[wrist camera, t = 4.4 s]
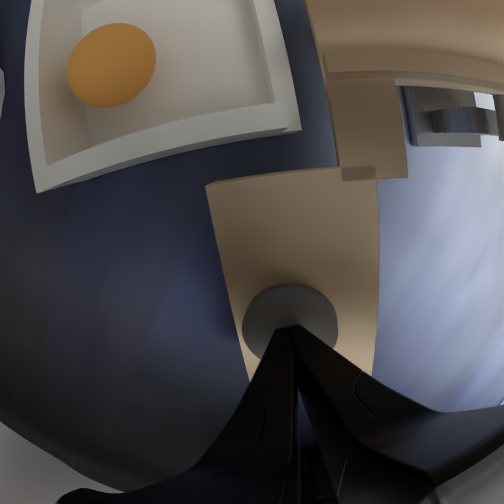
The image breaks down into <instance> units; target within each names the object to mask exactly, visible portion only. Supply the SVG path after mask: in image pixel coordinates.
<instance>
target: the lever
mask: <svg viewBox="0 0 504 504" xmlns="http://www.w3.org/2000/svg"><path fill="white" fill-rule="evenodd" d="M303 2H304V5H305V9H306V12H307V15H308V19H309V22H310V26H311V30H312V34H313V37H314V41H315V45H316V49H317V53H318V58H319V62H320V66H321V71H322V75H323V80H324V85H325V89H326V94H327V100H328V105H329V111H330V116H331V122H332V128H333V135H334V141H335V148H336V156H337V163H338V165H337V166H326V167H316V168H306V169H298V170H289V171H281V172H273V173H266V174H259V175H252V176H245V177H239V178H233V179H226V180H220V181H215V182H212V183H210V184H208V185H205V188H206V193H207V198H208V203H209V208H210V213H211V218H212V223H213V227H214V232H215V237H216V242H217V246H218V251H219V255H220V260H221V264H222V269H223V273H224V278H225V282H226V287H227V291H228V295H229V300H230V304H231V308H232V312H233V317H234V321H235V325H236V329H237V333H238V337H239V341H240V345H241V349H242V353H243V357H244V361H245V365H246V369H247V373H248V377H249V381H251V379H252V377H253V375H254V373H255V371H256V369H257V366H258V364H259V362H260V360H261V358H262V356H263V354H264V352H265V349H266V347H267V345H268V343H269V341H270V339H271V336H272V334H273V332H274V330H275V329H277V328H283V327H287V328H288V327H289V326H294V325H302V326H303V327H304V328H306V329H307V330H308V331H310V332H311V333H312V334H314V335H315V336H316V337H318V338H319V339H320V340H322V341H323V342H325V343H326V344H327V345H329V346H330V347H331V348H333V349H334V350H335V351H337V352H338V353H340V354H341V355H342V356H344V357H345V358H346V359H348V360H349V361H351V362H352V363H353V364H355V365H356V366H357V367H359V368H360V369H362V371H365V372H366V373H367V374H369V375H370V376H371V374H372V366H373V358H374V349H375V340H376V329H377V315H378V298H379V214H378V196H377V183H376V179H388V178H408V169H407V157H406V148H405V139H404V131H403V124H402V118H401V111H400V106H399V100H398V95H397V90H396V85H404V86H426V87H440V88H450V89H459V90H467V91H474V92H480V93H486V94H492V95H493V99H494V105H495V111H496V118H497V125H498V134H499V140H500V141H504V0H303Z"/></svg>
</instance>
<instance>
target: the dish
mask: <svg viewBox="0 0 504 504" xmlns="http://www.w3.org/2000/svg"><path fill="white" fill-rule="evenodd" d="M111 23H126V24H130V25H134V26H136V27H138V28H140V29H141V30H143V31H144V32H145V33H146V34H147V35H148V36H149V37H150V39H151V40H152V42H153V45H154V48H155V51H156V65H155V69H154V72H153V75H152V77H151V79H150V81H149V83H148V84H147V85H146V87H145V88H144V89H143V90H142V91H141V92H140V93H139V94H138V95H137V96H136V97H134V98H133V99H131V100H130V101H128V102H126V103H124V104H122V105H118V106H115V107H110V108H97V107H92V106H89V105H87V104H85V103H83V102H81V101H80V100H79V99H77V97H76V96H75V95H74V94H73V93H72V91H71V89H70V87H69V84H68V81H67V64H68V60H69V58H70V55H71V53H72V51H73V49H74V48H75V46H76V45H77V44H78V42H79V41H80V40H81V39H82V38H83V37H84V36H86V35H87V34H88V33H90V32H91V31H93V30H94V29H96V28H98V27H101V26H103V25H107V24H111ZM24 96H25V116H26V129H27V138H28V147H29V154H30V161H31V167H32V173H33V178H34V183H35V188H36V193H41V192H44V191H48V190H51V189H55V188H58V187H62V186H66V185H70V184H73V183H77V182H81V181H86V180H89V179H92V178H95V177H98V176H101V175H104V174H107V173H110V172H113V171H116V170H120V169H123V168H126V167H130V166H133V165H137V164H140V163H144V162H147V161H151V160H155V159H159V158H163V157H167V156H171V155H175V154H179V153H183V152H188V151H192V150H197V149H201V148H206V147H211V146H216V145H221V144H226V143H232V142H238V141H243V140H249V139H256V138H262V137H269V136H277V135H284V134H293V133H295V132H298V131H300V130H302V128H301V122H300V116H299V111H298V105H297V100H296V95H295V89H294V84H293V79H292V75H291V70H290V65H289V60H288V56H287V51H286V47H285V43H284V38H283V34H282V30H281V26H280V22H279V18H278V14H277V10H276V7H275V3H274V0H32V2H31V8H30V14H29V20H28V28H27V37H26V49H25V69H24Z"/></svg>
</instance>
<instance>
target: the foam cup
mask: <svg viewBox="0 0 504 504" xmlns="http://www.w3.org/2000/svg"><path fill="white" fill-rule="evenodd" d="M4 95H5V87H4V72H3V71H2V69H1V68H0V118H1V112H2V106H3V100H4Z"/></svg>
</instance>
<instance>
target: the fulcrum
mask: <svg viewBox="0 0 504 504" xmlns="http://www.w3.org/2000/svg"><path fill="white" fill-rule="evenodd" d="M402 86H403V91H404V96H405V102H406V107H407V113H408V120H409V127H410V134H411V142H412V146H460V147H481V139H480V135H490V136H499V134H498V125H497V118H496V111H493V110H489V109H484V108H478V107H476V103H475V97H474V92H473V91H467V90H459V89H450V88H440V87H426V86H404V85H402Z"/></svg>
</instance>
